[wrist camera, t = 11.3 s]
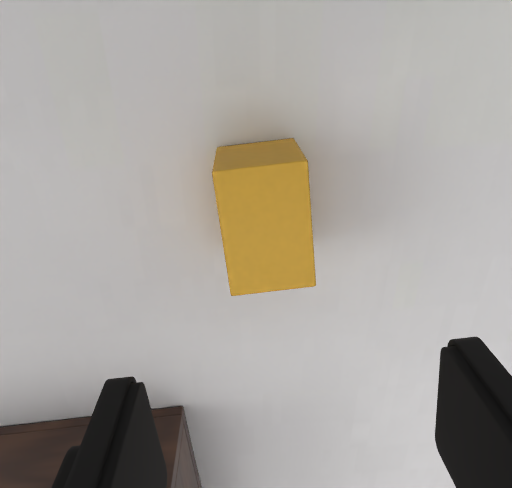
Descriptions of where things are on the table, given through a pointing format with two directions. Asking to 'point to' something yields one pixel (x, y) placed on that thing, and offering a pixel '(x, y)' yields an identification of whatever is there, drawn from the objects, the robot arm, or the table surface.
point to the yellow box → (265, 216)
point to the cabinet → (71, 434)
